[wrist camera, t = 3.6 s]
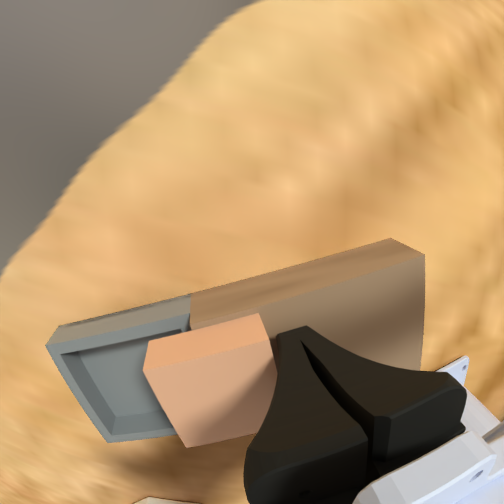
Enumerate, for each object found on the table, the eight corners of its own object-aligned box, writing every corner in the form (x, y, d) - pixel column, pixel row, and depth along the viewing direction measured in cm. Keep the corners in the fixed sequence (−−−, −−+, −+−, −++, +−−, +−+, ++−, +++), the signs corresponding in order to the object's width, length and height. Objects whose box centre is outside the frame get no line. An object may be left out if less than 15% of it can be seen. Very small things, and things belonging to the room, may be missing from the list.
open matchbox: (394, 345, 18) (419, 371, 15) (228, 399, 17) (234, 436, 14) (391, 238, 16) (424, 254, 13) (190, 293, 15) (189, 324, 12)
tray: (228, 399, 17) (232, 423, 15) (112, 420, 17) (107, 443, 15) (190, 293, 15) (190, 312, 13) (58, 326, 14) (45, 345, 13)
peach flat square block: (279, 393, 14) (290, 423, 12) (185, 416, 13) (186, 448, 12) (258, 312, 12) (269, 339, 11) (149, 340, 12) (142, 370, 10)
